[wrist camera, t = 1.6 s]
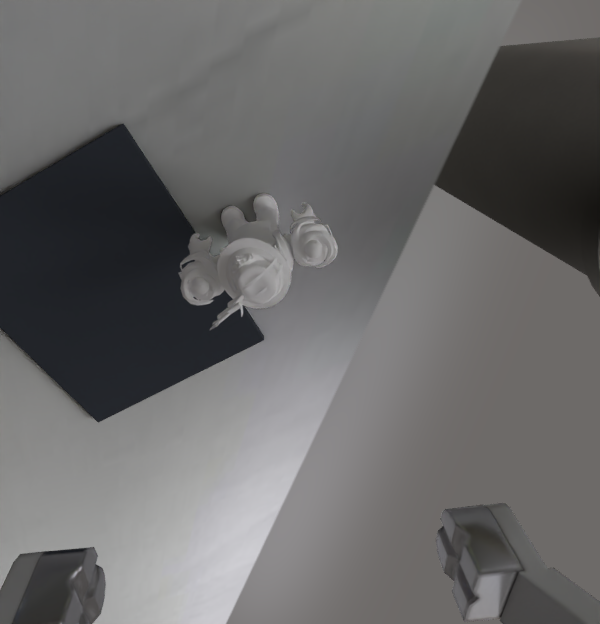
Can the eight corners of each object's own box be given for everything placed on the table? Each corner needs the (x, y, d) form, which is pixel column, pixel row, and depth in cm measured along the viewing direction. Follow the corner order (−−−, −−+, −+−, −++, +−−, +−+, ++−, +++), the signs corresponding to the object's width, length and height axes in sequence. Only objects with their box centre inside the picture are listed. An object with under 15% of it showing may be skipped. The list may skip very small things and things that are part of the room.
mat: (123, 123, 27) (121, 124, 27) (264, 336, 36) (264, 339, 36) (-80, 242, 29) (-85, 246, 29) (99, 417, 38) (98, 422, 37)
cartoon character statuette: (202, 261, 32) (185, 354, 22) (180, 211, 30) (150, 286, 20) (320, 223, 32) (359, 298, 22) (305, 170, 30) (340, 224, 20)
